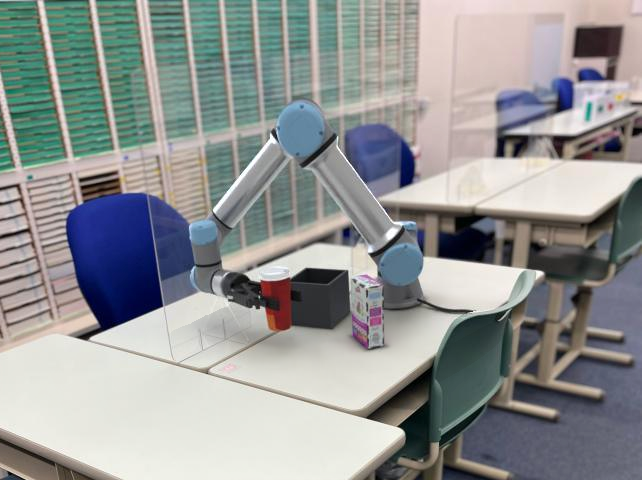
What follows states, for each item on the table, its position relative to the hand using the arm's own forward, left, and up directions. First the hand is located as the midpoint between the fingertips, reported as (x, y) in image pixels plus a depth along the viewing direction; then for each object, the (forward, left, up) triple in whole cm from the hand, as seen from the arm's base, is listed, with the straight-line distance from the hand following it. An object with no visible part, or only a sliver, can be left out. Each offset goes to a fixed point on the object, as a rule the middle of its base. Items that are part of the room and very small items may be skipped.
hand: (289, 301), depth 174 cm
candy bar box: (-15, -14, -15) cm, 25 cm away
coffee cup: (+5, -2, -8) cm, 10 cm away
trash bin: (+5, -26, -15) cm, 30 cm away
